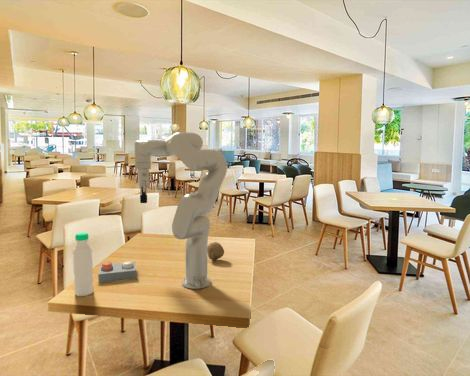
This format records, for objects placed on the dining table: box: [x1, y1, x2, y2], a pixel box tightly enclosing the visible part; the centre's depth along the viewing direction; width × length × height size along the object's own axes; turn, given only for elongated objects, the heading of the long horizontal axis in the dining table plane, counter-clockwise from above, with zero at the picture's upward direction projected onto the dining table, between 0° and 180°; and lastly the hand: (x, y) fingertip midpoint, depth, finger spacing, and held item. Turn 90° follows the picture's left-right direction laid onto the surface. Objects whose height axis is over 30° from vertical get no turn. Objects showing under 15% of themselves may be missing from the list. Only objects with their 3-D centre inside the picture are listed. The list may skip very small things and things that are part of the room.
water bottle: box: [72, 232, 94, 297], centre depth 135 cm, size 7×7×25 cm
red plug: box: [101, 261, 113, 271], centre depth 153 cm, size 4×4×4 cm
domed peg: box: [122, 261, 133, 269], centre depth 156 cm, size 4×4×4 cm
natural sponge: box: [207, 241, 225, 262], centre depth 177 cm, size 9×9×10 cm
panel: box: [97, 261, 137, 284], centre depth 155 cm, size 12×16×4 cm
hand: (143, 202), depth 165 cm, fingers closed
